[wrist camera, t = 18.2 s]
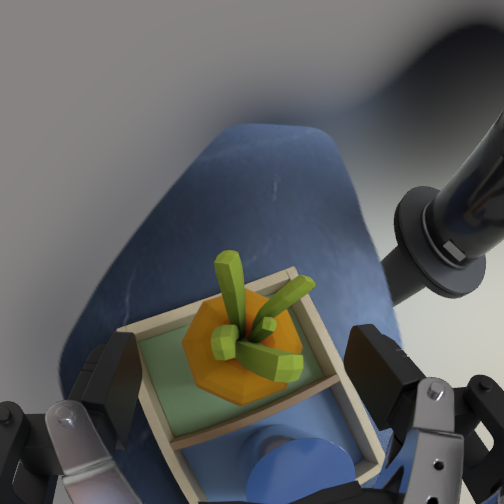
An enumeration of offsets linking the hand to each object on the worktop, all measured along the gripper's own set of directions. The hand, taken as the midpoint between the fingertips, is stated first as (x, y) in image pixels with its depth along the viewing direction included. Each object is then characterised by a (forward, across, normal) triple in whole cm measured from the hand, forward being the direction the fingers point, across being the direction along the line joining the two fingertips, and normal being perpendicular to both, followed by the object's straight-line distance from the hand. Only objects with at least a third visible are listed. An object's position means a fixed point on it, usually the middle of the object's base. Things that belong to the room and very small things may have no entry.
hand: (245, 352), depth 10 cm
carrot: (+8, 0, +8) cm, 12 cm away
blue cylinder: (+3, -3, +13) cm, 14 cm away
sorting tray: (+6, -2, +11) cm, 13 cm away
